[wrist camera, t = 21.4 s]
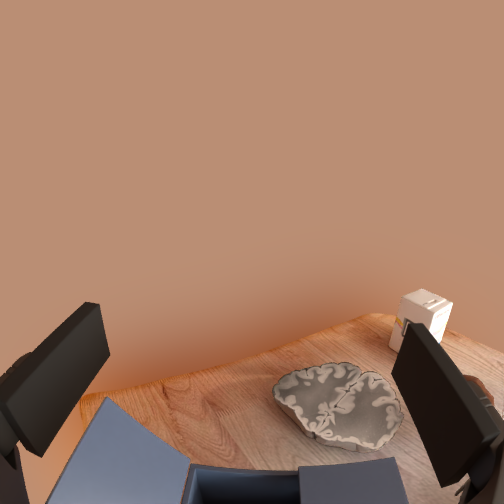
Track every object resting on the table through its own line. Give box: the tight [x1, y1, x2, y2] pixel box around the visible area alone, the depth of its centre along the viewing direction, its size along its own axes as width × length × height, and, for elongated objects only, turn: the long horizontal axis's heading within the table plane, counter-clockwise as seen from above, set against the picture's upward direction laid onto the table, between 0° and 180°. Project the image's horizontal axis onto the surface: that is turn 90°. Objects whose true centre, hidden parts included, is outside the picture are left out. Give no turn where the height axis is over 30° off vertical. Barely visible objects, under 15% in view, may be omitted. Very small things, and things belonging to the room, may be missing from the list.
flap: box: [45, 397, 190, 504], centre depth 12 cm, size 8×13×1 cm
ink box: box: [388, 289, 453, 353], centre depth 51 cm, size 9×8×12 cm
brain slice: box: [272, 362, 404, 453], centre depth 39 cm, size 20×17×3 cm
